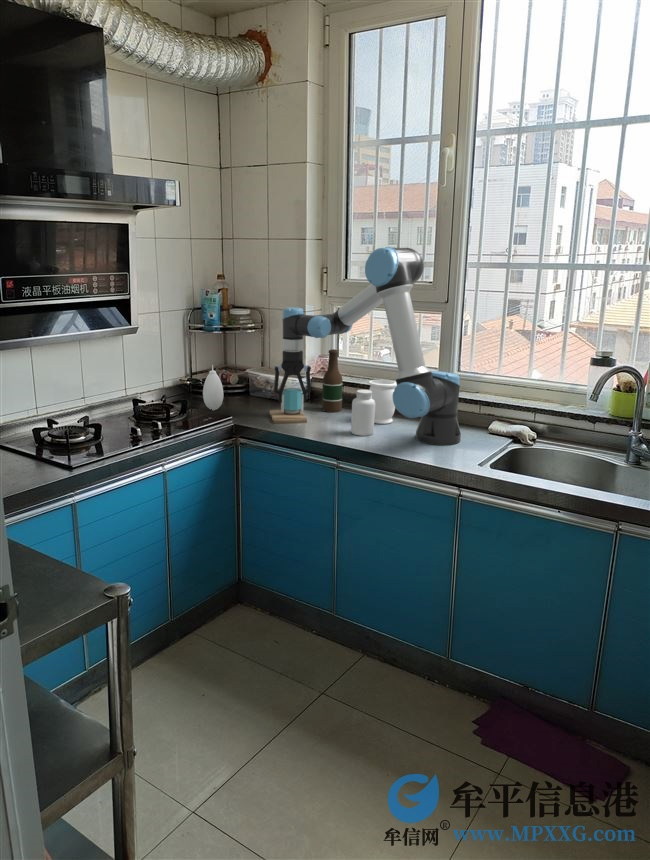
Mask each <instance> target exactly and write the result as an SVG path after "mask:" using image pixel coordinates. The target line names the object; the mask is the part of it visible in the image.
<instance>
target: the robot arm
mask: <svg viewBox="0 0 650 860" xmlns="http://www.w3.org/2000/svg"><path fill="white" fill-rule="evenodd" d="M424 265H425V264H424V260H423V258H422V256H421V254H420V253H419V252H418V251H416V250H415V249H414V248H411V247H392V246H386V247H385V246H384V247H378V248H376V249H374V250H373V251H372V252H371V253H370V254H369V256H368V257H367V259H366V262H365V266H364V274H365V278H366V280H367V282H369V283H370V284H369V285H368V286H366V287H365V288H364V289H363V290H362V291H359V292H358V294H356V295H355V296H354V297H352V298H351V299H349V301H347V302H346V303H344V304H343V305H342V306H341V307H339V308H338V309H337V310H335V312H333V313H329V314H317V315H316V314H315V315H312V314H305V313H304V309H303V308H301V307H295V306H294V307H285V308H283V310H282V349H283V351H282V360H281V364H279V365H275V366H274V380H273V381H274V382H273V389H272V390H273V393H274V394H277V395H278V396H277V399H278V403H280V410H281V411H282V412H284V394H283V390H284V389H285V386H286V383H287V381H288V378H289V377H291V376H296V377H297V380H298V383H299V386H300V389H301V390H302V403H301V409H300V410H301V411H302V412H304V403H306V402H307V394H308V393H311V392H312V387H311V386H312V383H311V373H310V372H311V370H312V368H311V366H310V365H309V364H308V365H305V363H304V361H303V360H304V359H303V358H304V357H303V356H304V352H303V349H304V336H305V337H310V338H315V339H325V338H326V337H328V336H332V335H333V336H334V335H343V334H345V333H348V332H349V331H351V329H352V327H353V326H354V324H355V323H357V322H358V321H360V319H362V318H363V317H365V316H366V315H367V314H369V313H370V312H372V311H373V310H374V309H376V308H377V307H379V306H380V305H382V304H383V306H384V309H385V310H384V311H385V315H386V319H387V323H388V329H389V332H390V337H391V338H390V339H391V342H392V346H393V347H392V348H393V351H394V356H395V361H396V365H397V370H398V373H397V375H396V377H395V382H396V384H397V386H396V388H395V389H394V392H393V403H394V405H395V410H397V411H398V412H399V414H401V415H402V416H404V417H406V418H410V419H415V418H416V419H417V418H420V421H419V422H418V426H417V428H416V431H415V439H416V440H418V441H419V442H422V443H425V444H430V445H435V446H437V445H439V446H447V445H456V444H458V443H460V442H461V438H462V437H461V436H462V433H461V429H460V425H459V421H458V410H459V409H458V408H459V397H460V387H461V384H460V382H461V381H460V380H461V379H460V376H459V374H457V373H453V372H447V371H439V370H431V369H430V368H428V367H427V366H426V364H425V358H424V354H423V349H422V344H421V338H420V335H419V330H418V327H417V326H418V325H417V321H416V316H415V312H414V307H413V303H412V299H411V290H412V289H413V287H414V284H416V283H417V282H418V281H419V280H420V278H421V277H422V275H423V273H424V268H425V266H424ZM303 369H304V371H305V380H306V381H305V382H306V387H305V384H304V381H303V379H302V375H301V372H302V371H303ZM281 370H283V372H284V374H283V378H282V380H281V382H280V385H279V379H280V373H281Z"/></svg>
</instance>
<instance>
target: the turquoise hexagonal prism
mask: <svg viewBox="0 0 650 860" xmlns="http://www.w3.org/2000/svg"><path fill="white" fill-rule="evenodd" d="M282 393H283V394H284V409H286V410H299V409H301V403H302V393H303V392H302V389H301V388H296V387H287V388H284V390H283V392H282Z"/></svg>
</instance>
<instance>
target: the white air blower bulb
mask: <svg viewBox="0 0 650 860" xmlns="http://www.w3.org/2000/svg"><path fill="white" fill-rule="evenodd" d="M202 399H203V402H204V405H205V406H206V408H208V409H209V410H211V409H212V410H211V411H216V410H218V409H219V408H220V407H221V406H222V404H223V400H224V387H223V384H222V380H221V378H220V377H219V375H218V374H217V371H216V370H214V365H213V364H212V366H211V370H209V372H208V374H207V376H206V378H205V381H204V384H203V388H202Z"/></svg>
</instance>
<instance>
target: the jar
mask: <svg viewBox="0 0 650 860" xmlns="http://www.w3.org/2000/svg"><path fill="white" fill-rule="evenodd" d="M368 384H369V386H370V387H369V389H368V390H370V391H372V397H371V398H372V399H373V400H374V401H375V417H374V424H379V425H380V424H381V425H388V424H391V423H393V422H394V419H393V416H394V414H395V411H396V407H395V405H394V403H393V392H394V389H395V388H396V386H397V384H396V380H389V379H372V380H369V381H368Z"/></svg>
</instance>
